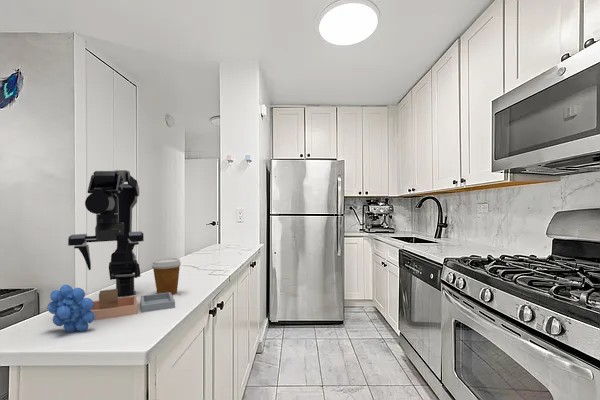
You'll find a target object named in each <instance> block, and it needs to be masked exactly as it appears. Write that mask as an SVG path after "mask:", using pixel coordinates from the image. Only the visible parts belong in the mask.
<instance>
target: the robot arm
mask: <svg viewBox="0 0 600 400" xmlns="http://www.w3.org/2000/svg"><path fill="white" fill-rule="evenodd" d="M87 194H88V196H87V197H86V198H85V201H84V206H85V209H86V210H87V211H88V212H89V213H92V214H95V216H96V217H95V218H96V219H95V221H96V222H95V227H94V230H95V231H94V232H95V235H87V233H80V234H71V235H70V236H68V240H67V245H68V246H69V247H70V246H73V249H78V250H79V252H80V253H81V255H82V257H83V258H84V259H83V260H84V262H85V264H86V267H87V269H88V270H89V271H91V270H92V261H91V255H90V248H89V247H90V246H89V244H88V243H98V242H99V243H100V242H101V243H102V242H116V249H115V250H114V251H113V252H112V253H111V256H110V261H109V262H108V273H109V274H108V275H109V280H115V289H118V298H123V297H131V296H137V293H136V292H137V291H136V290H135V279H137V278H140V277H141V268H140V264H139V263H138V260H137V257H136V255H135V253H134V251H133V250H134V248H135V246H137V245H140V242H144V233H143V232H142V231H141V230H140V231H132V229H133V227H132V226H133V208H134V207H135V206H136V204H137V203H138V197H140V188H139V182H138V180H136V178H134V177H133V176H131V172H130V171H129V170H124V169H123V170H122V169H121V170H120V169H119V170H118V169H117V170H116V169H115V170H95V171H94V172H93V174H91V177H90V181H89V184H88V188H87Z"/></svg>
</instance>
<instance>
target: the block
mask: <svg viewBox="0 0 600 400" xmlns="http://www.w3.org/2000/svg"><path fill="white" fill-rule="evenodd" d="M118 298H119V297H118V289H116V288H113V289H103V290H99V293H98V301H99V310H101V309H108V308H115V307H118Z"/></svg>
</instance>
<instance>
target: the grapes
mask: <svg viewBox="0 0 600 400" xmlns="http://www.w3.org/2000/svg"><path fill="white" fill-rule="evenodd" d="M49 298H50V300H51V301H50V302H49V303H48V304H47V307H46V308H47V311H48V313H49V314H52V315H53V317H52V323H53V325H55V326H57V327H63V330H64V331H65V333H72V332H76V331H78V332H80V333H81V332H85V331H87V330H88V328H89V324H90V323H93V322H94V321H95V320H94V319H95V315H94V313H93V312H92V311H90V310H91V309H92V308H93V306H94V303H93V299H91V298H90V297H86V292H85V290H84V289H83V288H81V287H75V288H73V287H72V286H70V285H69V284H63V285H61V286H60V289H59V290H58V289H55V290H52V292H51V293H50V295H49Z"/></svg>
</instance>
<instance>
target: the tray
mask: <svg viewBox="0 0 600 400" xmlns="http://www.w3.org/2000/svg"><path fill="white" fill-rule="evenodd" d="M140 307H141V309H140V310H141V313H148V312H154V311H162V310H168V309H175V308H176V301H175V298H174V296H173V295H172V294H171V292H168V293H160V294H157V293H154V294H147V295H140Z"/></svg>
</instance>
